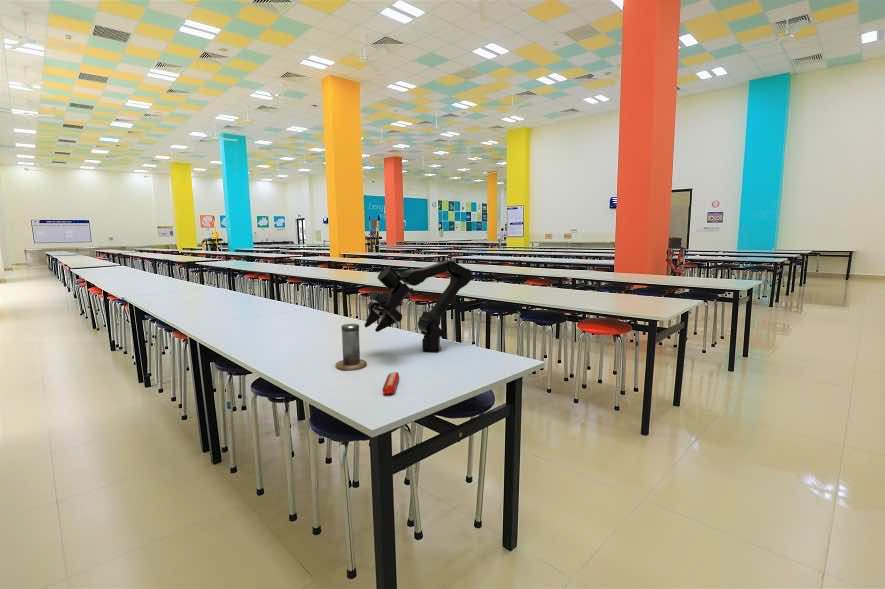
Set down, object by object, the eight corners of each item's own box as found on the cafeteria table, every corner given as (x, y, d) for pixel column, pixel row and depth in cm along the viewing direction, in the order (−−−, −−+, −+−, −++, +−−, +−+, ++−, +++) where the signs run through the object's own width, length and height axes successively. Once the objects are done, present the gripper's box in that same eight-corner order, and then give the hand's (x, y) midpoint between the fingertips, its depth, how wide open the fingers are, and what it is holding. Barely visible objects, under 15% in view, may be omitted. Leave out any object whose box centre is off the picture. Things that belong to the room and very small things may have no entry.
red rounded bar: (388, 378, 142) (388, 370, 142) (399, 378, 142) (399, 370, 142) (381, 397, 127) (381, 387, 126) (394, 397, 127) (393, 387, 126)
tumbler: (363, 361, 157) (362, 324, 154) (352, 366, 151) (351, 328, 149) (350, 359, 159) (349, 322, 157) (339, 364, 154) (337, 326, 152)
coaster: (370, 362, 160) (370, 359, 160) (360, 371, 149) (360, 368, 149) (343, 360, 162) (342, 358, 161) (330, 369, 151) (330, 367, 151)
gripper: (371, 280, 166) (345, 312, 162) (394, 285, 151) (366, 319, 147) (389, 299, 172) (365, 329, 167) (413, 305, 157) (387, 338, 152)
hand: (370, 329), depth 158 cm, fingers open, 9 cm apart
